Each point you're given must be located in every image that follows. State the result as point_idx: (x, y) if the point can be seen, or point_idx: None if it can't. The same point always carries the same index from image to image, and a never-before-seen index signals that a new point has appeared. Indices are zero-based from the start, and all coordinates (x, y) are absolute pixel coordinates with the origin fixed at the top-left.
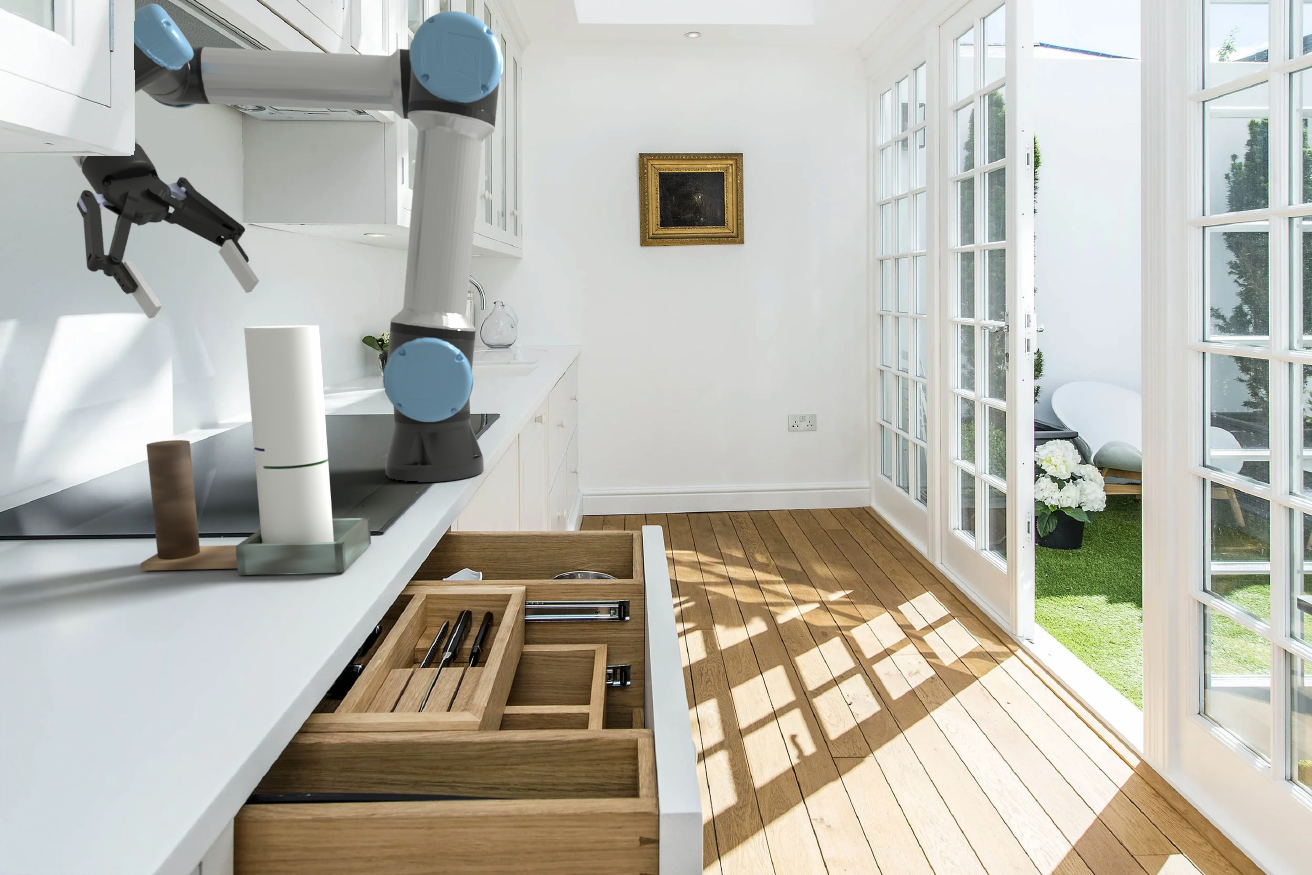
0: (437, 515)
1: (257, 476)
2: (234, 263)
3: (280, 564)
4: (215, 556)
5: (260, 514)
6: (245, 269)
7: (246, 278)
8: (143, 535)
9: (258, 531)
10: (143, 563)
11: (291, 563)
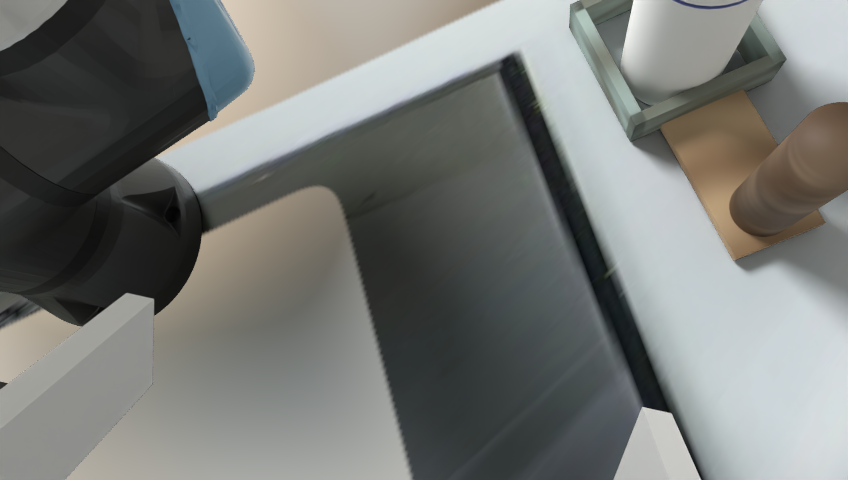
0: (392, 52)
1: (758, 7)
2: (60, 429)
3: None
4: (746, 146)
5: (737, 45)
6: (109, 338)
7: (128, 353)
8: None
9: (703, 93)
10: (823, 219)
11: None
